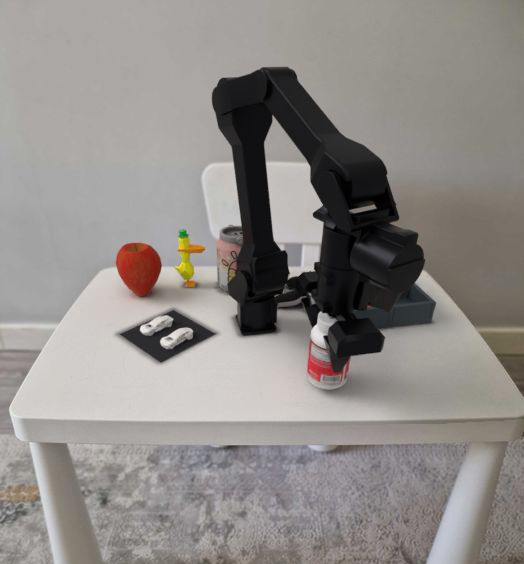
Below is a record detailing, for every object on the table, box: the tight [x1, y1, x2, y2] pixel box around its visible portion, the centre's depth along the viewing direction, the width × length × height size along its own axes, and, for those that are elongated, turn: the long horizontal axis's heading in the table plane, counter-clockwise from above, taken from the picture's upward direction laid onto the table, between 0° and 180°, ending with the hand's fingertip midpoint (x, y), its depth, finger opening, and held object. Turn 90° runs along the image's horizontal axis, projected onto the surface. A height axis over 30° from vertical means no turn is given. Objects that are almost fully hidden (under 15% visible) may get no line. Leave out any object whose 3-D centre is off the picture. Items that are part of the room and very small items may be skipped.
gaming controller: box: [275, 270, 312, 308], centre depth 91 cm, size 11×4×7 cm
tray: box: [353, 282, 437, 329], centre depth 90 cm, size 17×17×4 cm
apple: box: [115, 242, 163, 297], centre depth 90 cm, size 9×8×11 cm
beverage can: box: [215, 224, 243, 293], centre depth 93 cm, size 9×8×12 cm
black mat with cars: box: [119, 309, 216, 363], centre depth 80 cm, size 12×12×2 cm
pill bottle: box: [306, 312, 352, 391], centre depth 66 cm, size 6×6×11 cm
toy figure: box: [173, 228, 206, 288], centre depth 93 cm, size 7×4×12 cm, turn 89°
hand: (329, 358), depth 67 cm, fingers closed on pill bottle, 6 cm apart
